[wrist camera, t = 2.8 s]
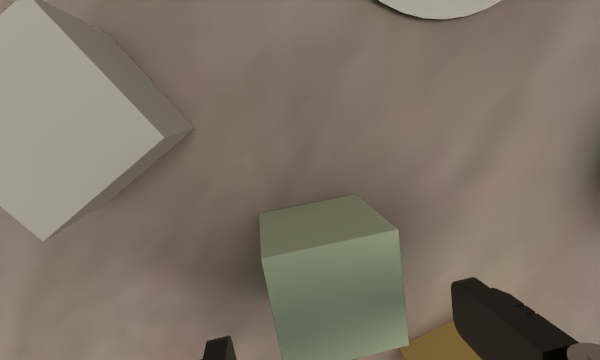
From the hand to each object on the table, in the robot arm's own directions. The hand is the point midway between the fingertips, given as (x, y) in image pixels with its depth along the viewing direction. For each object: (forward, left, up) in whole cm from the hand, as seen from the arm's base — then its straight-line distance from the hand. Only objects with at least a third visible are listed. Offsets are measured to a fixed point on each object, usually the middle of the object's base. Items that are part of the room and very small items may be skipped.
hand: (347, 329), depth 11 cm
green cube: (0, 0, -6) cm, 6 cm away
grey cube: (-8, -8, -6) cm, 13 cm away
